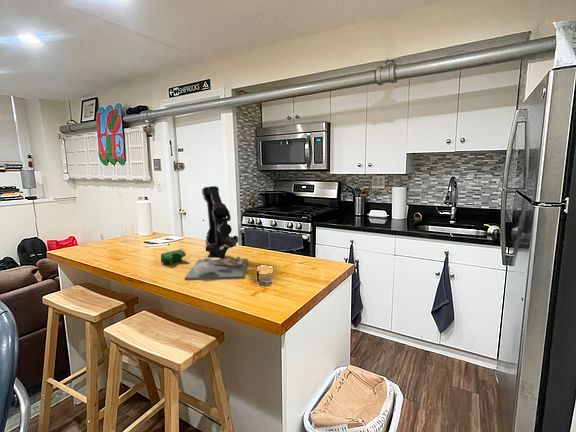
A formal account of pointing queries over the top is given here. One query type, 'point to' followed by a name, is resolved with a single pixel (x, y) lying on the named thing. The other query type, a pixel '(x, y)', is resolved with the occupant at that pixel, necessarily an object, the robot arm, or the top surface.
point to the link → (225, 261)
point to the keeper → (200, 266)
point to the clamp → (172, 256)
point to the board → (219, 271)
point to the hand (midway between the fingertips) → (222, 260)
